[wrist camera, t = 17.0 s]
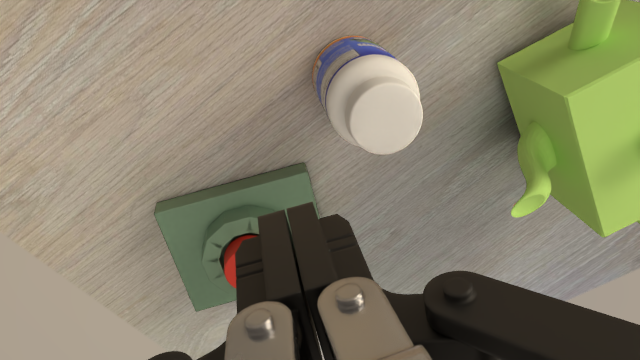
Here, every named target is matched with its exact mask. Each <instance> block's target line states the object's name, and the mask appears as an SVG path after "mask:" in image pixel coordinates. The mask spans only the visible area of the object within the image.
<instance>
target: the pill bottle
mask: <svg viewBox="0 0 640 360" xmlns="http://www.w3.org/2000/svg"><path fill="white" fill-rule="evenodd" d="M312 81H313V86H314V89H315V92H316V94H317V96H318V98H319V100H320V102H321V104H322V106H323V108H324V110H325V112H326V114H327V116H328V118H329V120H330V122H331V124H332V126H333V128H334V129H335V131H336V132H337V133H338V134H339V135H340V136H341V137H342V138H343V139H344V140H346V141H347V142H349V143H351V144H353V145H355V146H358V147H361V148H363V149H364V150H366V151H367V152H370V153H373V154H379V155H386V154H392V153H395V152H398V151H400V150H402V149H403V148H405V147H406V146H408V145H409V144H410V143H411V142H412V141H413V140H414V139H415V137H416V136H417V134H418V132H419V130H420V128H421V125H422V119H423V111H422V105H421V102H420V93H419V88H418V84H417V82H416V79H415V78H414V76H413V74H412V73H411V72H410V70H409V69H408V68H407V67H406V66H405V65H403V64H402V63H401V62H400V61H398V60H397V59H396V58H395V57H393V56H392V55H391V54H390V53H388V52H387V51H386V50H385V49H383V48H382V47H381V46H380V45H378V44H377V43H376V42H374V41H372V40H370V39H368V38H366V37H362V36H356V35H351V36H344V37H341V38H338V39H336V40H334V41H332V42H331V43H329V44H328V45H327V46H326V47H324V49H323V50H322V51H321V52H320V53H319V55H318V57H317V59H316V61H315V63H314V66H313V71H312Z"/></svg>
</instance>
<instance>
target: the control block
mask: <svg viewBox="0 0 640 360" xmlns="http://www.w3.org/2000/svg"><path fill="white" fill-rule="evenodd" d="M312 201H313V204H314V207H315V210H316V214H317V217H318V219H320V217H319V214H318V210H317V206H316V202H315V198H314V194H313V190H312V187H311V183H310V179H309V175H308V171H307V169H306V166H305V163H301V164H297V165H293V166H290V167H286V168H282V169H279V170H275V171H271V172H268V173H264V174H260V175H257V176H253V177H249V178H246V179H242V180H238V181H235V182H231V183H227V184H224V185H220V186H216V187H213V188H209V189H205V190H202V191H198V192H195V193H191V194H187V195H184V196H180V197H176V198H173V199H169V200H165V201H162V202H158V203H157V204H156V208H155V212H154V215H155V218H156V220H157V222H158V225H159V227H160V229H161V232H162V234H163V236H164V239H165V241H166V243H167V245H168V248H169V250H170V252H171V255H172V257H173V259H174V262H175V264H176V266H177V269H178V271H179V273H180V276H181V278H182V280H183V283H184V285H185V287H186V290H187V292H188V294H189V297H190V299H191V301H192V304H193V306H194V308H195V311H200V310H204V309H207V308H211V307H214V306H218V305H221V304H225V303H228V302H232V301H235V300H237V297H236V288H234V287H233V286H232V285H230V283H229V282H228V281H227V280H226V277H225V274H224V254H225V251H226V249H227V247H228V246H229V244H230V243H231V242H232V241H234V240H235V239H237V238H239V237H241V236H245V235H257V236H259V227H258V217H259V216H262V215H266V214H269V213H273V212H277V211H280V210H285V213H286V217H287V220H288V223H289V219H288V214H287V210H286V209H287V208H291V207H294V206H298V205H301V204H305V203H309V202H312ZM289 227H290V224H289ZM290 230H291V228H290ZM291 234H292V233H291Z"/></svg>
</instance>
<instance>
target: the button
mask: <svg viewBox="0 0 640 360" xmlns="http://www.w3.org/2000/svg"><path fill="white" fill-rule="evenodd" d="M256 236H257V235H245V236H241V237H239V238H237V239H235V240H234V241H232V242H231V243H230V244H229V246H228V247H227V249H226V251H225V254H224V274H225V277H226V280H227V281H228V282H229V283H230V285H232V286H233V287H234V288H236V266H235V253H236V251H237V249H238V248H239V246H240V244H241V242H242V241H243V240H245V239H249V238H253V237H256Z"/></svg>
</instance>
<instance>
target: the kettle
mask: <svg viewBox="0 0 640 360" xmlns="http://www.w3.org/2000/svg"><path fill="white" fill-rule="evenodd" d="M497 65H498V68H499V71H500V74H501V77H502V80H503V83H504V86H505V89H506V92H507V95H508V98H509V102H510V105H511V108H512V111H513V114H514V117H515V120H516V123H517V126H518V129H519V132H520V135H521V137H520V139H519V143H518V148H517V153H518V161H519V164H520V167H521V170H522V172H523V175H524V177H525V179H526V183H527V187H526V191H525V193H524V195H523V196H522V197H521V198H520V200H519V201H518V202H517V203H516V204H515V205H514V207H513V208H512V211H511V215H512V216H513V217H522V216H525V215H527V214H529V213H531V212H533V211H535V210H536V209H538V208H539V207H541V206H542V205H543V204H544V203H545V202H546V200H547V199H548V197H549V195H552V196H553V197H554V198H555V199H556V200H558V201H559V202H560V203H561V204H562V205H564V206H565V207H566V208H567V209H569V210H570V211H571V212H572V213H573V214H575V215H576V216H577V217H578V218H580V219H581V220H582V221H583V222H584V223H586V224H587V225H588V226H589V227H590V228H592V229H593V230H594V231H595V232H597V233H598V234H599V235H600V236H601V237H607V236H609V235H610V234H612V233H614V232H616V231H618V230H620V229H622V228H624V227H626V226H628V225H630V224H632V223H634V222H638V223H640V2H634V1H629V0H579V4H578V8H577V12H576V16H575V19H574V23H572V24H570V25H568V26H566V27H564V28H562V29H560V30H558V31H556V32H555V33H553V34H551V35H549V36H547V37H545V38H543V39H541V40H540V41H538V42H536V43H534V44H532V45H530V46H528V47H526V48H524V49H522V50H521V51H519V52H517V53H515V54H513V55H511V56H509V57H507V58H505V59H504V60H502V61H500V62H498V63H497Z"/></svg>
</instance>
